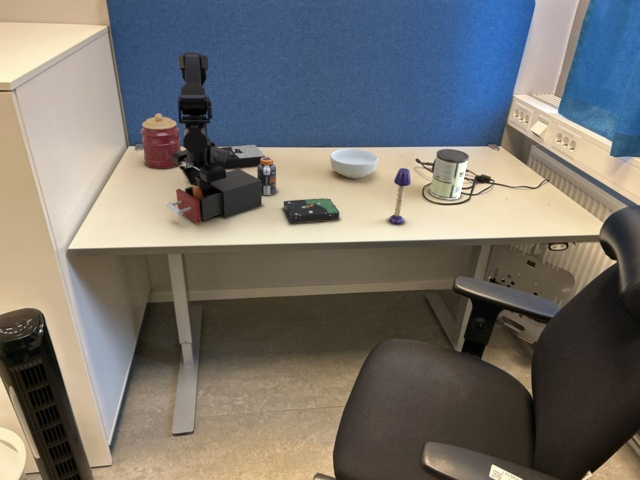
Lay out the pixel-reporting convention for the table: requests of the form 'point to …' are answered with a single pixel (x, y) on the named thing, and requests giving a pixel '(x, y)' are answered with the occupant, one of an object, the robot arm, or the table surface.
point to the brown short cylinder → (197, 191)
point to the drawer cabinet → (239, 192)
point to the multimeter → (241, 157)
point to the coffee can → (448, 174)
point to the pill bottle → (267, 175)
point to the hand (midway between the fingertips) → (200, 193)
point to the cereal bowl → (353, 162)
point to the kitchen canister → (160, 141)
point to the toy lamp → (400, 194)
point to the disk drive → (310, 210)
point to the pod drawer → (198, 204)
